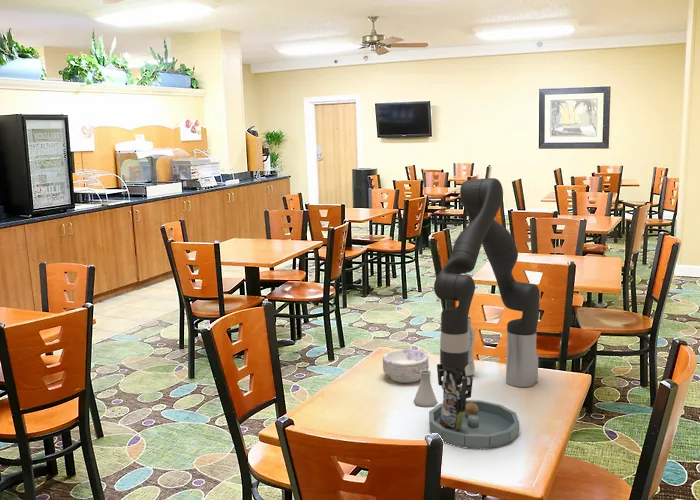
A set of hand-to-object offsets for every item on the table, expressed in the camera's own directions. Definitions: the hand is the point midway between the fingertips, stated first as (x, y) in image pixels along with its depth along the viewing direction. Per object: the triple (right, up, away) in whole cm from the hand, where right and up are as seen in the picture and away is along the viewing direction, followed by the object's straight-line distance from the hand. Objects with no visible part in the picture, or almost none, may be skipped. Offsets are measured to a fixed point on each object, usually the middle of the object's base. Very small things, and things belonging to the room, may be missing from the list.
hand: (454, 406), depth 183 cm
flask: (-5, -4, +23) cm, 24 cm away
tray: (+6, -7, +4) cm, 10 cm away
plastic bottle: (+11, 0, +45) cm, 46 cm away
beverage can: (0, -6, +1) cm, 6 cm away
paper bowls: (-10, -1, +44) cm, 45 cm away
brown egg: (+6, -5, +10) cm, 13 cm away
